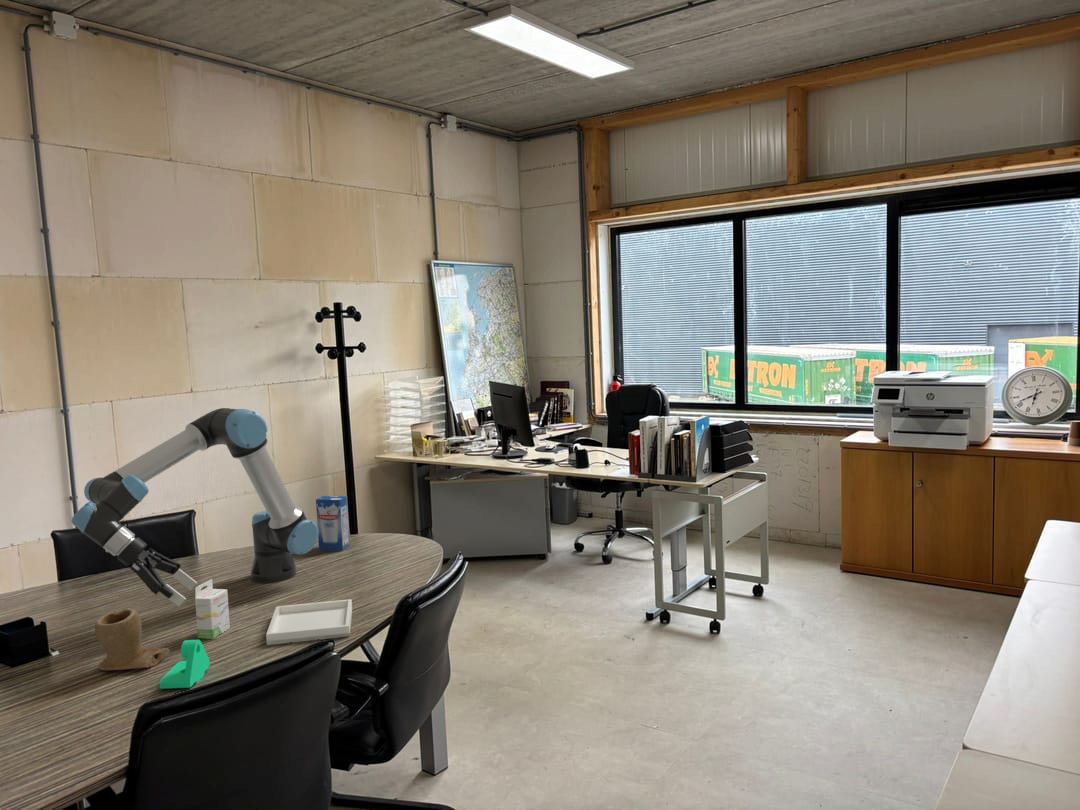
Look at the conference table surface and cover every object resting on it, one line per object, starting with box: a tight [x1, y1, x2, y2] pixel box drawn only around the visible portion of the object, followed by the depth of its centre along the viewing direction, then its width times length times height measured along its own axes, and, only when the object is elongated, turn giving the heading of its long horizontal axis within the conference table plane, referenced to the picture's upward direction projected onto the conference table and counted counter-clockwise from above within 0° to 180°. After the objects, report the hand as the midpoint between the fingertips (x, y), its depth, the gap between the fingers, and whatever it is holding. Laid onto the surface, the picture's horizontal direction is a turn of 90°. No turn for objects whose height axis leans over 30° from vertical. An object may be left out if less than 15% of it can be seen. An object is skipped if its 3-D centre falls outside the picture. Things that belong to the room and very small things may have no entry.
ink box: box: [194, 578, 231, 640], centre depth 224 cm, size 9×5×15 cm, turn 168°
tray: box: [265, 598, 353, 646], centre depth 228 cm, size 22×22×3 cm
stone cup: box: [94, 608, 170, 671], centre depth 203 cm, size 15×12×15 cm
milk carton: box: [315, 495, 350, 552], centre depth 307 cm, size 10×6×20 cm, turn 79°
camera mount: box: [158, 639, 211, 690], centre depth 195 cm, size 12×8×10 cm, turn 1°
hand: (188, 594), depth 222 cm, fingers open, 13 cm apart
